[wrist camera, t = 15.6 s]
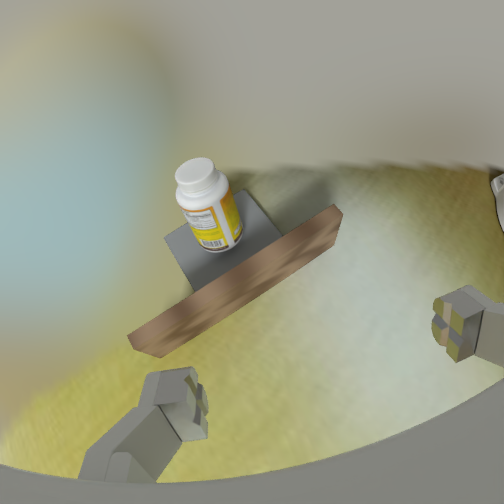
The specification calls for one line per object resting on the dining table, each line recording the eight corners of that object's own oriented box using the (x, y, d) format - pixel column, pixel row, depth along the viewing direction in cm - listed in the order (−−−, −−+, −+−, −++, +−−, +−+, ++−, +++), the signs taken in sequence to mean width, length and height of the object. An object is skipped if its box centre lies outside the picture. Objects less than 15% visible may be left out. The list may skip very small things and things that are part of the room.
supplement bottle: (231, 211, 39) (208, 145, 31) (252, 239, 36) (232, 169, 28) (191, 233, 38) (160, 169, 30) (210, 263, 35) (177, 198, 27)
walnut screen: (326, 236, 38) (333, 203, 31) (333, 245, 37) (343, 214, 31) (154, 347, 34) (126, 335, 27) (160, 358, 33) (133, 349, 27)
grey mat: (244, 192, 41) (243, 188, 41) (285, 241, 38) (285, 238, 37) (165, 240, 39) (163, 237, 39) (198, 297, 36) (197, 295, 35)
